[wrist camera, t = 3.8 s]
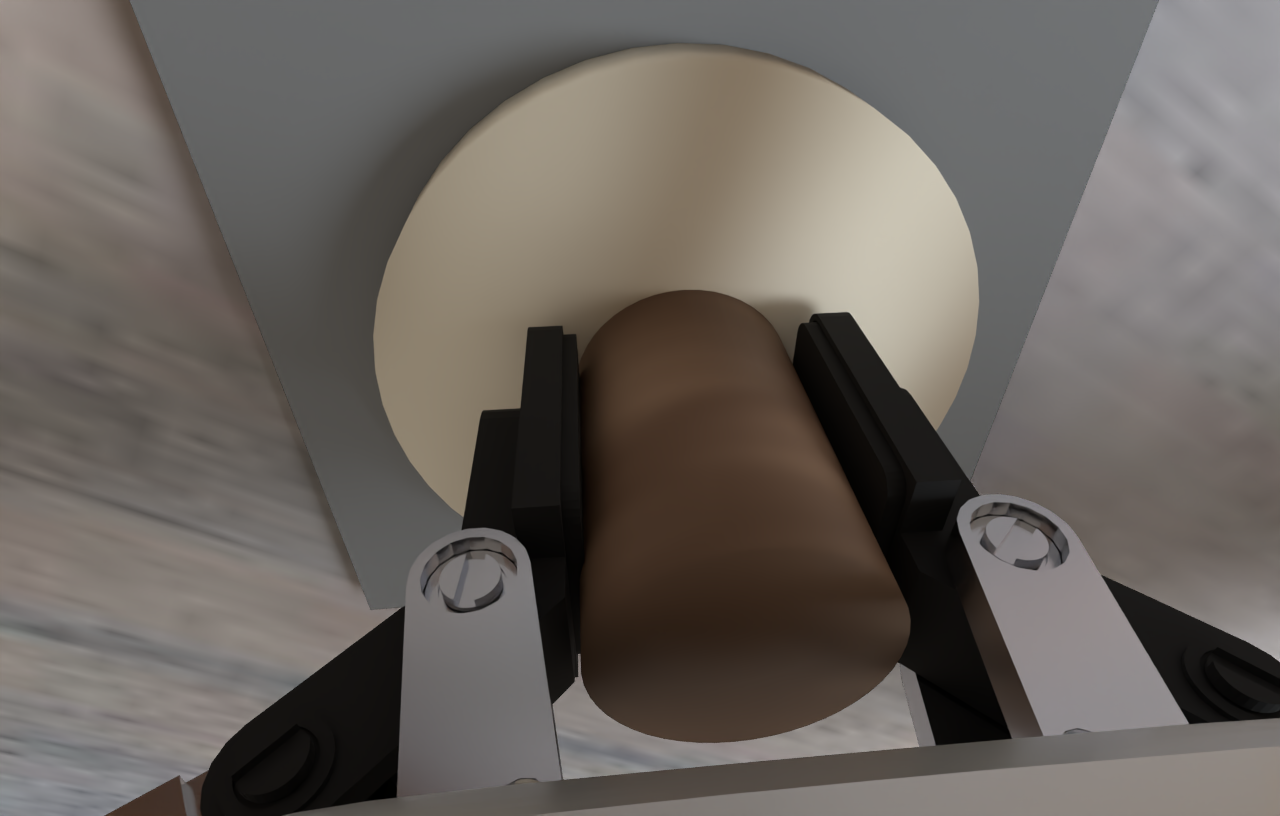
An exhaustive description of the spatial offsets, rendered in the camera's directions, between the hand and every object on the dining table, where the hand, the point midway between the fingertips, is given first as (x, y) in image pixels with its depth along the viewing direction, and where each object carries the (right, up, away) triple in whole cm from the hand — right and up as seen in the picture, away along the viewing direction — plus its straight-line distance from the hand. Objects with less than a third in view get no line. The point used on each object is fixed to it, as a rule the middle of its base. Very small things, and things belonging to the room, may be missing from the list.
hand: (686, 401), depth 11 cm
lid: (0, +1, +1) cm, 2 cm away
